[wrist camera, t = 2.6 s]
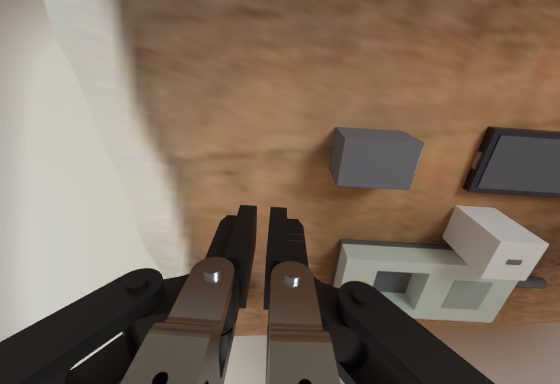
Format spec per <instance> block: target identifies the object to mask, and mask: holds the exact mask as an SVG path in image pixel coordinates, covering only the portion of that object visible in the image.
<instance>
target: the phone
mask: <svg viewBox="0 0 560 384" xmlns="http://www.w3.org/2000/svg"><path fill="white" fill-rule="evenodd" d="M463 189H465V190H466V191H468V192H477V193H493V194H510V195H526V196H542V197H559V198H560V131H545V130H530V129H515V128H500V127H488V129H487V131H486V133H485V136H484V138H483V141H482V143H481V145H480V148H479V150H478V151H477V153H476V155H475V158H474V160H473V163H472V165H471V169H470V171H469V174H468V176H467V179H466V181H465V183H464V186H463Z"/></svg>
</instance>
